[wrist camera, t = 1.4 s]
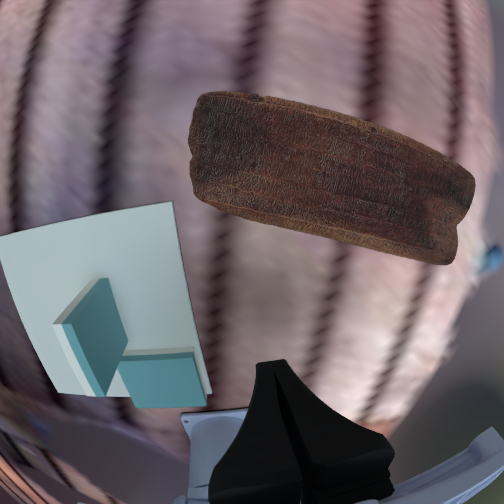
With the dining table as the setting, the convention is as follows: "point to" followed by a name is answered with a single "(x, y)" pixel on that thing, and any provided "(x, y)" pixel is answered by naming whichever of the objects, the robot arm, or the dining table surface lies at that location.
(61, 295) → the felt mat
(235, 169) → the wooden tablet
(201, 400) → the flat tile
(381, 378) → the dining table surface
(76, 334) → the tile
